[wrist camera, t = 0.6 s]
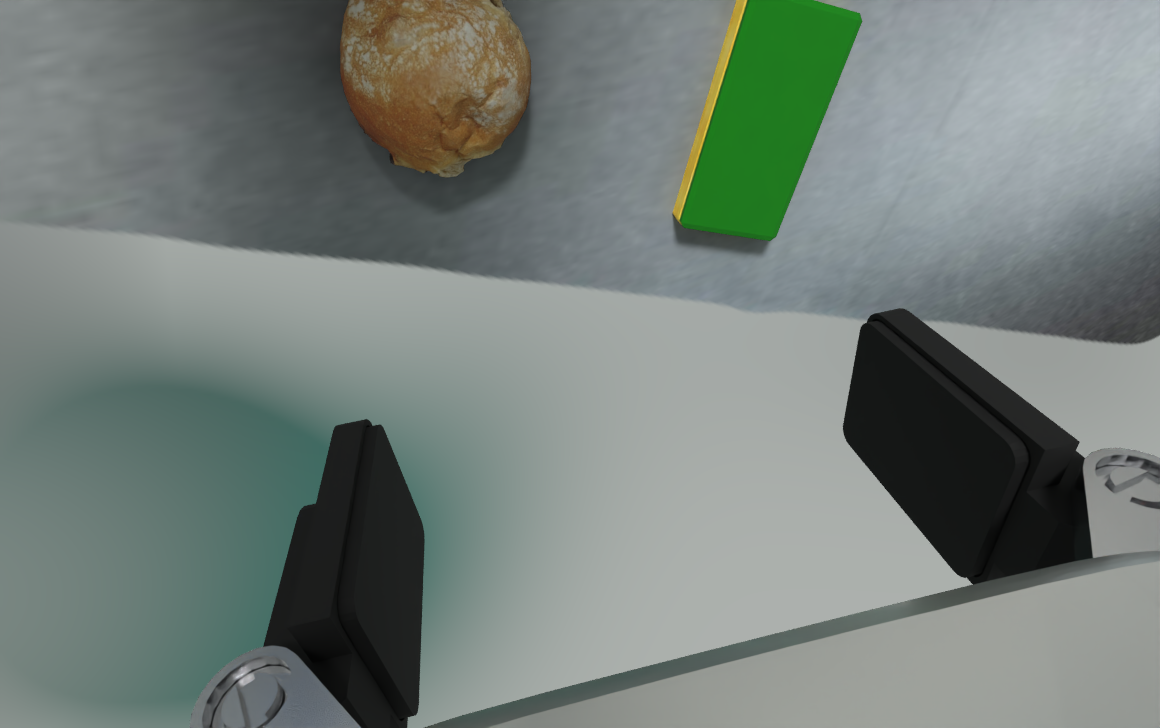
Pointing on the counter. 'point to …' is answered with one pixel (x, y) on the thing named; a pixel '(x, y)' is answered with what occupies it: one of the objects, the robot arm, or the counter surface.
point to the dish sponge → (763, 114)
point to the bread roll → (434, 78)
